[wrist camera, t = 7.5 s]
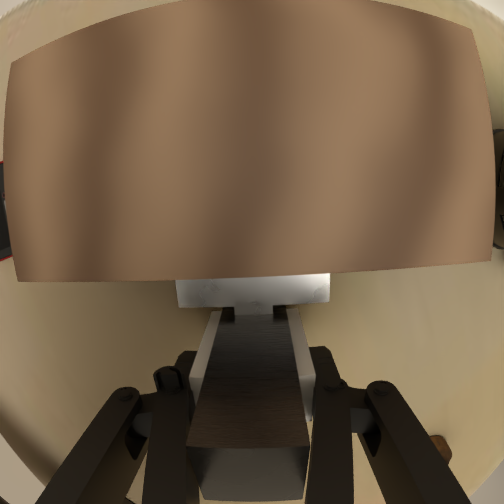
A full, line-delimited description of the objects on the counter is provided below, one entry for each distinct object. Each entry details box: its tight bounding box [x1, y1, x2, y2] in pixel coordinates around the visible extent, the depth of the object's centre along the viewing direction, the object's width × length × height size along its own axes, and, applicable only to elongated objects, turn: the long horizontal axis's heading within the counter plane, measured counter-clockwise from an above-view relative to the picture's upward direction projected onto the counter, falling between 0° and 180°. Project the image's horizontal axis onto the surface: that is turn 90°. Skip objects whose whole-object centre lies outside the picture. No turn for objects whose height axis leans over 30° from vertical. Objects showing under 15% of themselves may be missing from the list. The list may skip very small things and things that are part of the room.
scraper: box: [175, 273, 330, 501], centre depth 11 cm, size 8×19×12 cm, turn 3°
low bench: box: [3, 0, 495, 282], centre depth 13 cm, size 24×12×6 cm, turn 93°
